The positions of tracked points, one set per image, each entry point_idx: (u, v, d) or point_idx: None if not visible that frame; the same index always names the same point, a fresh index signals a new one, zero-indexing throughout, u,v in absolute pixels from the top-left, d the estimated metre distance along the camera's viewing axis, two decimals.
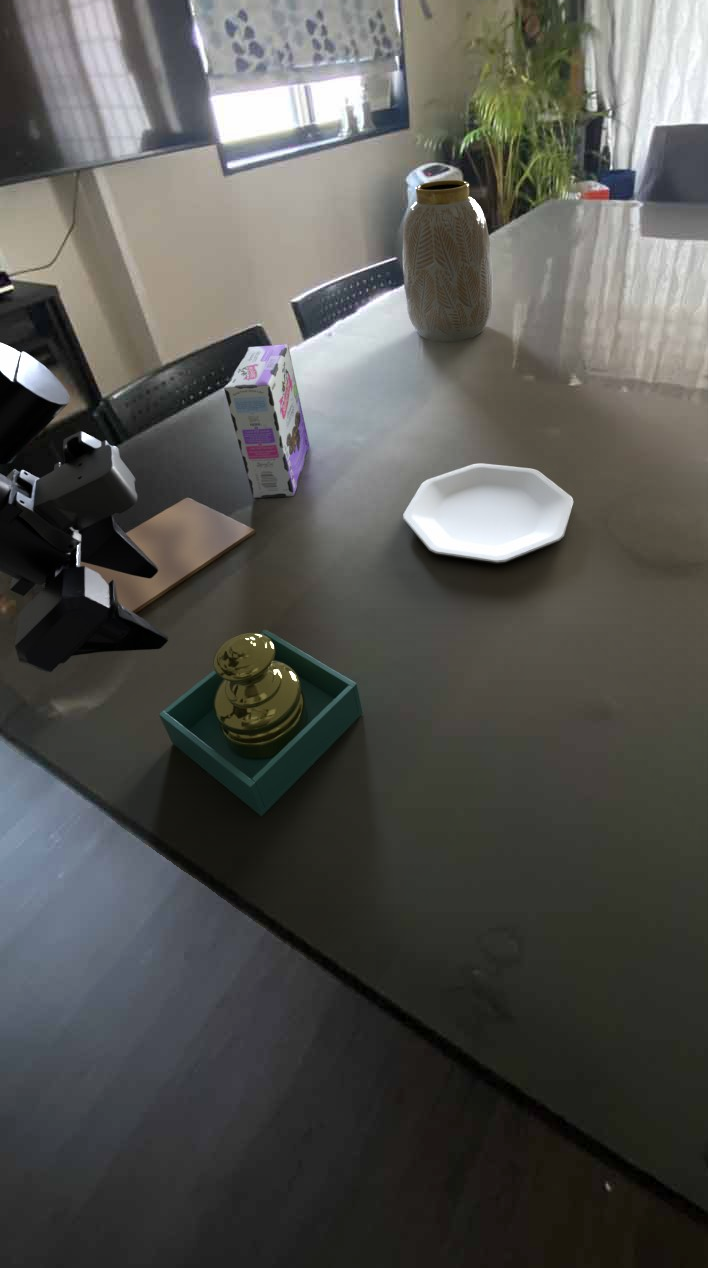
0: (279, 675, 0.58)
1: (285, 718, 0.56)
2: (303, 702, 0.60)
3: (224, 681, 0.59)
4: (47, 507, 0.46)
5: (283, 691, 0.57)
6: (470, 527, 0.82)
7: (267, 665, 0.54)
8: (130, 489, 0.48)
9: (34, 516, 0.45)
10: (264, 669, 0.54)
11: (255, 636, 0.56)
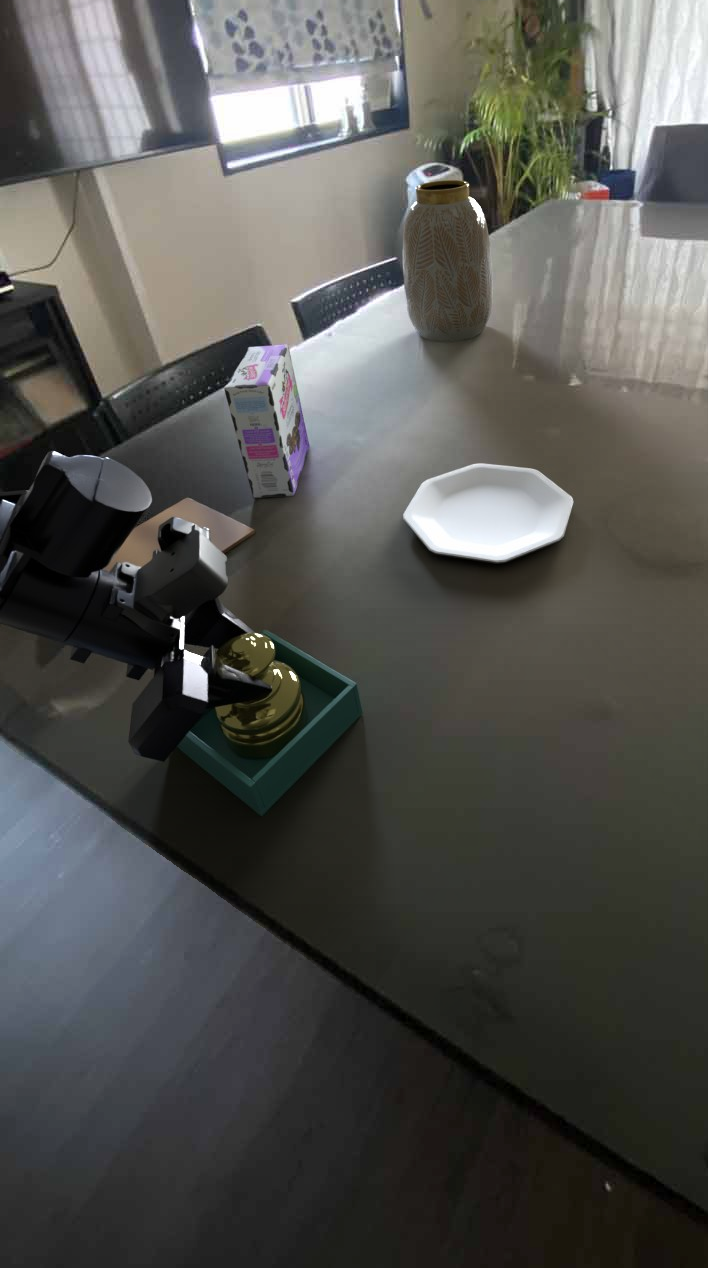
0: (279, 675, 0.58)
1: (285, 718, 0.56)
2: (304, 702, 0.60)
3: None
4: (145, 602, 0.48)
5: (283, 691, 0.57)
6: (470, 527, 0.82)
7: (267, 665, 0.54)
8: (219, 575, 0.49)
9: (134, 613, 0.47)
10: (264, 669, 0.54)
11: (255, 636, 0.56)
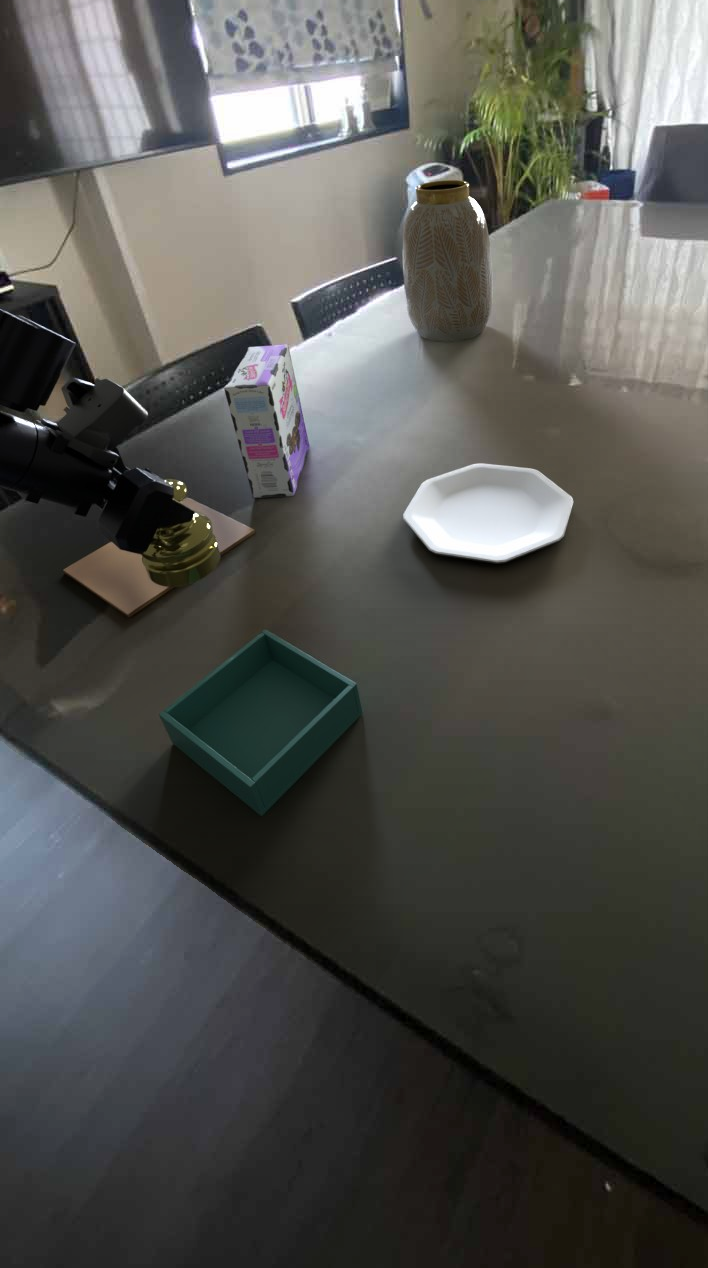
0: None
1: (209, 538, 0.67)
2: (213, 535, 0.71)
3: None
4: (85, 434, 0.56)
5: (199, 520, 0.68)
6: (470, 527, 0.82)
7: (185, 492, 0.65)
8: None
9: (79, 443, 0.56)
10: (184, 495, 0.65)
11: (163, 479, 0.66)
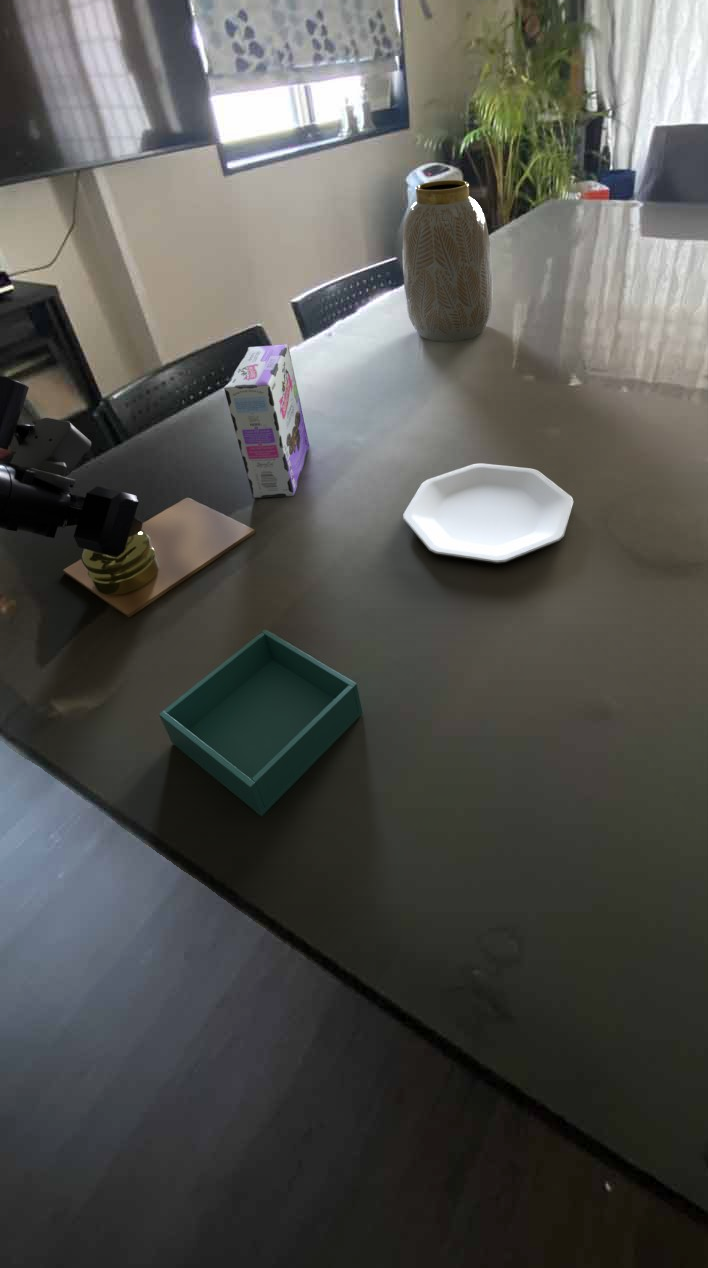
0: None
1: (150, 545, 0.78)
2: None
3: (85, 553, 0.75)
4: (46, 465, 0.65)
5: None
6: (470, 527, 0.82)
7: None
8: None
9: (43, 473, 0.64)
10: None
11: None
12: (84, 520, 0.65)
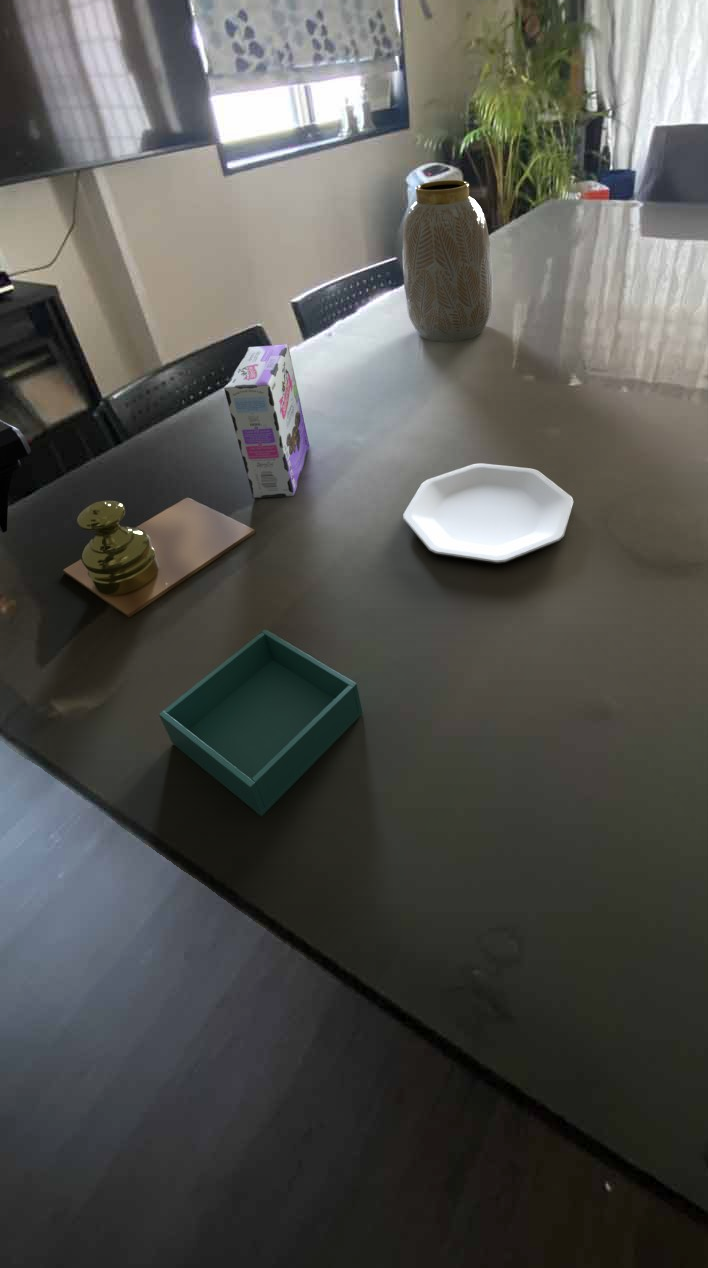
0: (126, 526, 0.78)
1: (150, 545, 0.78)
2: None
3: (85, 553, 0.75)
4: None
5: (136, 532, 0.78)
6: (470, 527, 0.82)
7: (124, 508, 0.75)
8: None
9: None
10: (124, 510, 0.75)
11: None
12: None
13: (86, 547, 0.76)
